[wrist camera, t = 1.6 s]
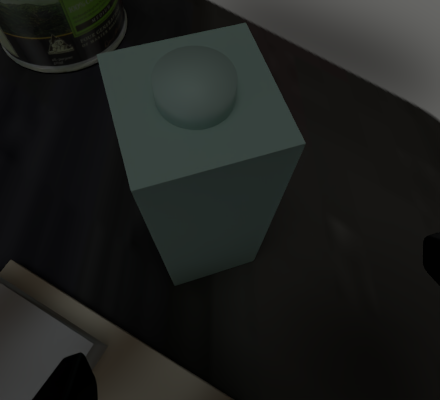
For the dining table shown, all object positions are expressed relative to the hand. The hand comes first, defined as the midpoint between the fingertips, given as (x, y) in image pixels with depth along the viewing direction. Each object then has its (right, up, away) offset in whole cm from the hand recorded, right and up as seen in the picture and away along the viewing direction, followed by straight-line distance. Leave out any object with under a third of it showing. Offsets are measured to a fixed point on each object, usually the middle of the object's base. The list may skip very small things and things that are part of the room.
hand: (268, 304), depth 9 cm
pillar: (-2, 0, +14) cm, 14 cm away
